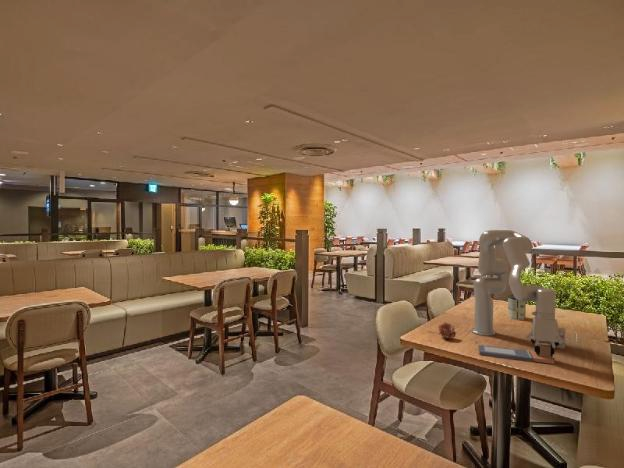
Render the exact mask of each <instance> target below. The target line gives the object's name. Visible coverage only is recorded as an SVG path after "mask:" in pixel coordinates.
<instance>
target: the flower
mask: <svg viewBox="0 0 624 468" xmlns="http://www.w3.org/2000/svg"><path fill="white" fill-rule="evenodd" d="M455 329H456V328H455V325H452V324H451V323H449V322H446V321H445V322H442V323H441V324H438V331H439V332H438V334H439V335H440V336H441V337H442V340H443V339H449V340H453V338H455V337H456V335H457V333H456V331H455Z"/></svg>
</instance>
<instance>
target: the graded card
mask: <svg viewBox="0 0 624 468" xmlns="http://www.w3.org/2000/svg"><path fill="white" fill-rule="evenodd" d="M566 332H567V333H568V332H569V331H567V330H565V333H566ZM571 333H575V335H576V337H575V338H576V340H575V343H576V342H578V333H577V332H575V331H574V332H573V331H571ZM565 341H567V339H566V338H565ZM569 341H570V342H573V340H572V339H571V340H570V339H569Z"/></svg>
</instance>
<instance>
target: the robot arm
mask: <svg viewBox="0 0 624 468" xmlns="http://www.w3.org/2000/svg"><path fill="white" fill-rule="evenodd" d="M478 240H479V241H478V242H479V243H478V244H479V245H478V246H479V254H478V264H477V271H478V273H479V274H480V275H481V276H482V277H477V278H476V279H475V280H474V281H473V285H472V286H473V291H474V292H473V293H474V325H473V326H474V327H472V328H471V330H470V331H471V332H472V333H473V334H476V335H478V336H479V335H480V336H486V337H487V336H488V337H490V336H491V337H492V336H495V335H496V334H497V331H496V330H494V300H493V298H492V296H491V295H495V294H496V295H497V294H502V293H504V292H505V291H506V288H507V281H508V285H509V288H510V291H511V293H512V295H514V297H515V298H516V299H517V300H518V301H521V302H526V303H527V302H535V311H532V312H531V315H533V316H534V317H533V319H532V325H531V331H530V332H529V333H528V334H527V335H526V336H525V338H526V339H527V340H529V341H530V342H531V343H532V344H533V346H534V350H533V351H534V352H536V354H537V355H539V346H538V343H540V342H545V343H546V342H548V343H549V342H550V343H551V346H550V347H551V357H552V358H553V355H555V349H556V348H555V347H556V346H558V345H559V344H561V343H563V342H564V341H563V340H562V338H561V337H560V336H559V330H558V327H559V325H558V324H559V323H558V320H557V319H556V293H557V292H556V291H555V290H554V289H553V288H545V287H543V286H540V285H537V284H535V285H532V284H531V285H524V284H523V282H522V280H521V273H522V271H523V270H526V269H528V268H529V266H530V265H531V264H530V263H531V262H530V261H529V258H528V256H527V254H528V253H530V252H532V250H533V243H532V240H531V239H530V238H529V237H527V236H525V235H523V234H521V233H519V232H517V231H515V230H510V229H490V230H485V231H484V232H482V233H481V234H480V236H479V239H478ZM495 246H496V247H497V246H499V247H500V246H502V248H503V251H504V253H505V257H506V258H507V261H506V260H505V259H503V258H497V248H496V247H495ZM507 262H508V263H509V265H510V271H509V267H508V263H507ZM508 272H509V274H508ZM483 276H484V277H483ZM485 276H486V277H485Z"/></svg>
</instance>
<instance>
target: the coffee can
mask: <svg viewBox="0 0 624 468" xmlns="http://www.w3.org/2000/svg"><path fill="white" fill-rule="evenodd" d="M526 305H527V302H521V301H518V300H517V299H516V298H515V297H514V295H513V294H511V295H507V318H508V319H511V320H517V321H525V320H526Z"/></svg>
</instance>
